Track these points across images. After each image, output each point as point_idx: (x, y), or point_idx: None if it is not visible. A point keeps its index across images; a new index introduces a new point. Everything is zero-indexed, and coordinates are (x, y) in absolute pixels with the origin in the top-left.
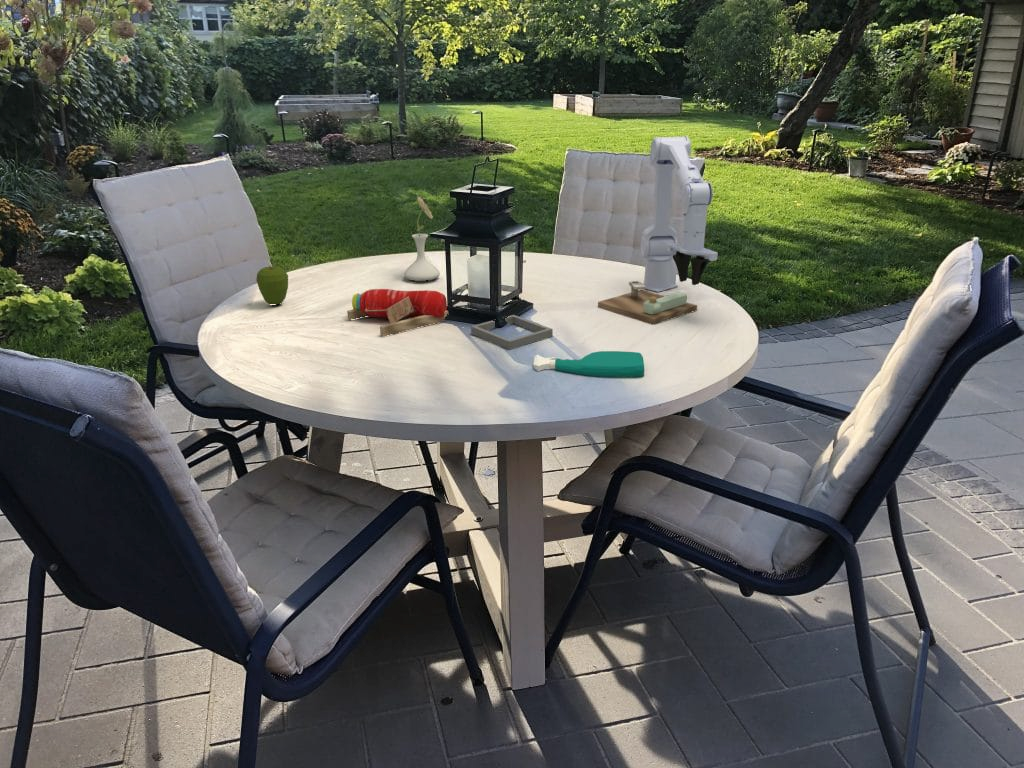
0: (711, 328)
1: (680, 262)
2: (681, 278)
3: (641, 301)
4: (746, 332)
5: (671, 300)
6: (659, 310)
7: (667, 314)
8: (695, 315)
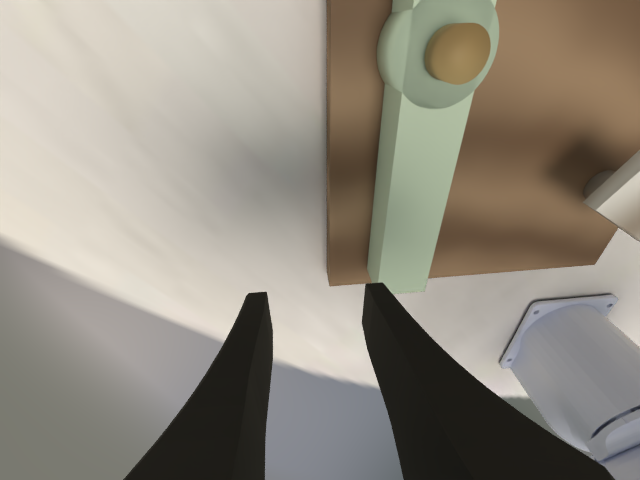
0: (114, 160)
1: (442, 440)
2: (372, 300)
3: (546, 155)
4: (7, 233)
5: (387, 192)
6: (381, 67)
7: (334, 91)
8: (292, 233)
